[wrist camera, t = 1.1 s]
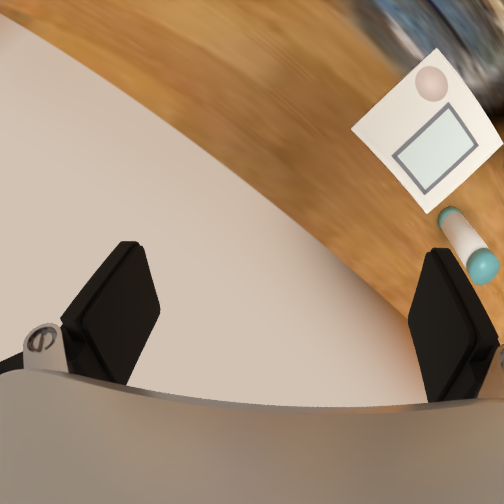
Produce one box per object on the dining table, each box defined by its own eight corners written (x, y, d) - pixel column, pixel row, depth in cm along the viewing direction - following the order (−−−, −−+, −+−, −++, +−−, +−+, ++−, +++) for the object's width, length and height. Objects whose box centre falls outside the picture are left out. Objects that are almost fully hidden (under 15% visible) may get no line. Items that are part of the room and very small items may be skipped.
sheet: (435, 47, 24) (437, 47, 24) (502, 142, 28) (503, 143, 28) (350, 128, 31) (350, 129, 31) (425, 213, 35) (426, 214, 35)
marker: (452, 200, 34) (492, 249, 24) (465, 219, 34) (503, 270, 25) (432, 218, 35) (466, 271, 26) (445, 235, 36) (478, 290, 27)
